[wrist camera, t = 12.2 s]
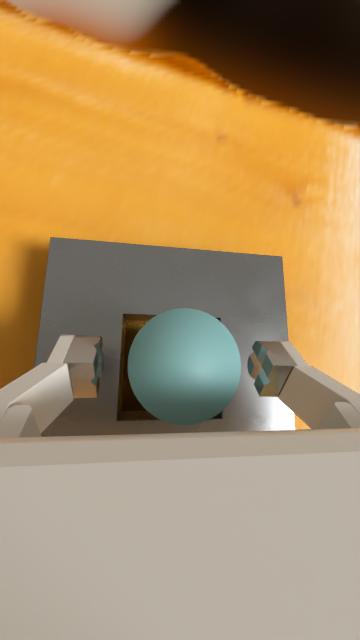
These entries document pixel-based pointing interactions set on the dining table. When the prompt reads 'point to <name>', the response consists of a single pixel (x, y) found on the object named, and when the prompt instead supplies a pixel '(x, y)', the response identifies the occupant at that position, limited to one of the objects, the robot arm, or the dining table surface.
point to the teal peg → (184, 366)
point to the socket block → (147, 302)
